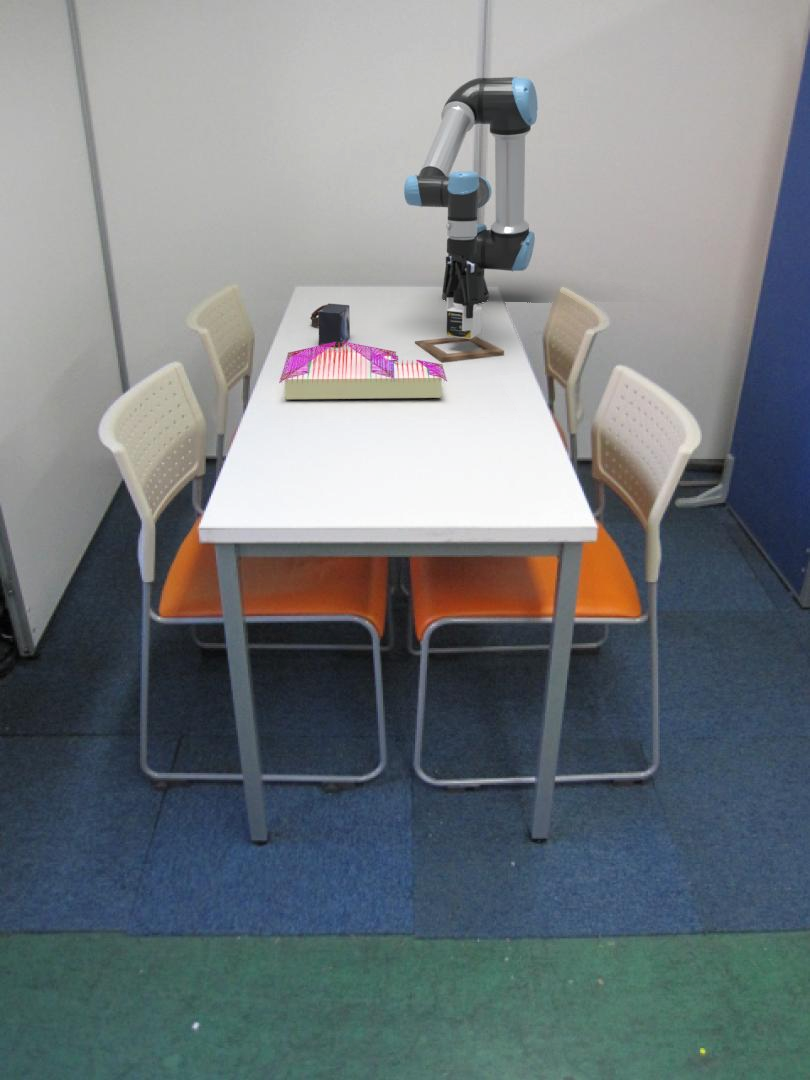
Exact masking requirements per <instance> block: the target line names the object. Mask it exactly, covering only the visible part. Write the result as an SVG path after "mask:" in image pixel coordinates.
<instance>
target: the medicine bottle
mask: <svg viewBox="0 0 810 1080" xmlns="http://www.w3.org/2000/svg"><path fill="white" fill-rule="evenodd" d="M463 303H464V297H463V291H462V288H460V289H457V290H455V291H454V301H453V305H454V306H455V307H452V308H450V309H448V310H447V322H446V336H447V337H449V338H451V337H457V338H465V339H471V338H473V337H475V336H477V337H478V336H480V335H482V320H483V307H481V306H477V304H475V305H474V306H473V330H469V331H462V315H463V306H462V304H463Z"/></svg>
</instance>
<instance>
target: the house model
mask: <svg viewBox="0 0 810 1080" xmlns="http://www.w3.org/2000/svg"><path fill="white" fill-rule="evenodd" d="M333 343H334V344H333ZM333 343H328V344H329V345H328V344H324V345H325V347H324V345H319V344H318V345H316V346H311V347H307V348H302V349H299V350H294V351H290V352H287V357H286V359H285V363H284V366H283V368H282V371H281V372H282V373H281V376H280V379H279V382H278V383H279V384H281V383H283V381H284V390H285V400H339V399H340V400H341V399H342V400H345V399H347V400H348V399H349V400H351V399H353V400H354V399H355V400H356V399H357V400H358V399H428V398H429V399H432V398H434V399H435V398H437V399H439V398H442V380H443V382H445V381H446V382H448V379H447V376H446V372H445V369H444V365H443V364H442V363H437V362H432V361H427V360H421V359H416V363H415V364H414V359H412V361H411V364H409V360H408V359H407V360H406V362H407V363H406V364H404V359H402V361H401V364H399V360H400V359H399V355H397V351H396V350H395V351H394V350H389V349H386V348H385V349H383V348H379V347H373V346H368V345H364V344H359V343H353V342H348V341H347V342H344V343H345V344H343V346H342V350H341V348H340V344H339V348H338V350H337V348H333V351H332V347H331V346H332V345H335V343H336V342H333ZM326 345H327V346H326ZM345 347H349V348H350V351H349V350H348V348H345ZM353 350H354V351H353ZM419 363H420V364H419Z"/></svg>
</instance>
